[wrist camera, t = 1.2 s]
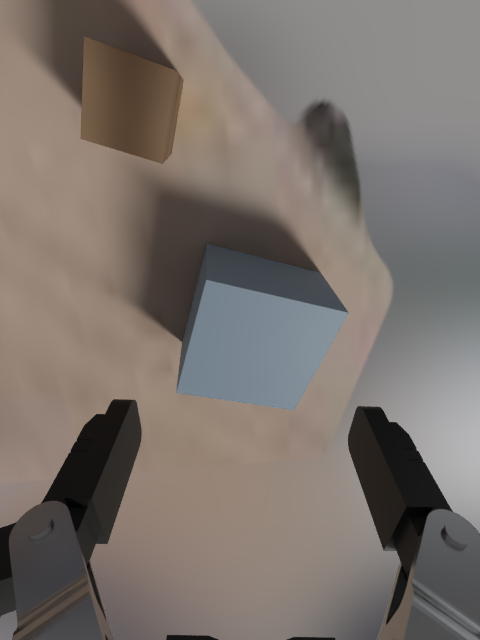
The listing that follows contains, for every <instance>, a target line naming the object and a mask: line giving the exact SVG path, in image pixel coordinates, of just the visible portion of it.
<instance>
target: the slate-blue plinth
mask: <svg viewBox="0 0 480 640" xmlns="http://www.w3.org/2000/svg"><path fill="white" fill-rule="evenodd" d="M347 315H348V311H347V310H346V308H345V307H344V305H343V304H342V303H341V301H340V300H339V298H338V297H337V295H336V294H335V293H334V291H333V290H332V288H331V287H330V285H329V284H328V282H327V281H326V280H325V278H324V277H323V275H322V274H321V273H320V272H316V271H312V270H308V269H304V268H300V267H296V266H292V265H289V264H285V263H281V262H277V261H273V260H269V259H265V258H261V257H258V256H254V255H250V254H246V253H242V252H238V251H234V250H230V249H227V248H223V247H219V246H215V245H211V244H207V245H206V249H205V253H204V257H203V261H202V265H201V269H200V273H199V277H198V281H197V285H196V289H195V293H194V297H193V301H192V305H191V309H190V313H189V317H188V321H187V325H186V329H185V333H184V337H183V341H182V349H181V357H180V366H179V374H178V383H177V391H176V393H180V394H187V395H194V396H201V397H208V398H214V399H221V400H228V401H235V402H242V403H248V404H255V405H262V406H269V407H276V408H283V409H289V410H295V408H296V406H297V404H298V403H299V401H300V399H301V397H302V395H303V394H304V392H305V390H306V388H307V387H308V385H309V383H310V381H311V379H312V378H313V376H314V374H315V372H316V370H317V369H318V367H319V365H320V363H321V361H322V360H323V358H324V356H325V354H326V353H327V351H328V349H329V347H330V345H331V344H332V342H333V340H334V338H335V336H336V335H337V333H338V331H339V329H340V327H341V326H342V324H343V322H344V320H345V319H346V317H347Z"/></svg>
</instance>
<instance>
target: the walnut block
mask: <svg viewBox="0 0 480 640" xmlns="http://www.w3.org/2000/svg"><path fill="white" fill-rule="evenodd" d="M182 87H183V79H182V77H181V76H180V75H179V73H178V72H177V71H176V70H173V69H170V68H168V67H165V66H162V65H160V64H157V63H154V62H152V61H149V60H146V59H144V58H141V57H138V56H136V55H133V54H130V53H128V52H125V51H122V50H120V49H117V48H114V47H112V46H109V45H106V44H104V43H101V42H98V41H96V40H93V39H90V38H88V37H85V36H84V46H83V80H82V113H81V139H83V140H87V141H90V142H93V143H96V144H100V145H103V146H106V147H109V148H113V149H116V150H119V151H123V152H126V153H129V154H132V155H136V156H139V157H142V158H145V159H149V160H152V161H155V162H158V163H162V164H163V163H164V162H165V160H166V159H167V158H168V157H169V156H170V155H171V153H172V147H173V141H174V135H175V129H176V123H177V117H178V111H179V105H180V99H181V93H182Z"/></svg>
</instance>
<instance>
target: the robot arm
mask: <svg viewBox="0 0 480 640" xmlns="http://www.w3.org/2000/svg"><path fill="white" fill-rule="evenodd" d="M140 442H141V424H140V418H139V413H138V407H137V402H136V400H119V399H114V400H113V401H112V402H111V403H110V405H109V407H108V410H107V412H106V414H96V415H95V416H94V417H93V418H92V419H91V420H90V421H89V422H88V423H87V424H85V425H84V427H83V429H82V431H81V432H80V434H79V436H78V438H77V442H75V443H74V445H73V447H72V449H71V453H69V454H68V456H67V458H66V460H65V462H64V464H63V465H62V467H61V469H60V471H59V473H58V475H57V476H56V478H55V480H54V482H53V484H52V486H51V487H50V489H49V491H48V493H47V495H46V496H45V498H44V500H43V501H42V502H41V504H39V505H36V506H35V507H33V508H32V509H30V510H29V511H27V512H26V513H25V514H24V515H23V516H22V517H21V518H20V519H19V520H18V521H17V522H16V523H14V524H11V525H8V526H5V527H2V528H0V616H1V615H4V614H6V613H9V612H12V611H15V610H16V613H17V630H16V631H15V632H14V633H13V638H12V640H114V637H113V634H112V631H111V629H110V626H109V622H108V619H107V616H106V612H105V609H104V605H103V602H102V599H101V595H100V592H99V589H98V586H97V582H96V579H95V575H94V572H93V568H92V565H91V562H90V558H91V555H92V552H93V549H94V547H95V544H107V543H108V540H109V538H110V534H111V531H112V528H113V525H114V522H115V519H116V516H117V513H118V510H119V507H120V504H121V501H122V498H123V495H124V492H125V489H126V486H127V483H128V480H129V477H130V474H131V471H132V468H133V465H134V462H135V459H136V456H137V453H138V450H139V446H140ZM348 446H349V451H350V454H351V457H352V460H353V463H354V466H355V469H356V472H357V475H358V478H359V480H360V483H361V486H362V489H363V492H364V495H365V498H366V501H367V504H368V506H369V509H370V512H371V515H372V518H373V521H374V524H375V527H376V529H377V532H378V535H379V538H380V541H381V544H382V547H383V550H384V551H397V553H398V556H399V558H400V561H401V562H400V564H399V566H398V570H397V573H396V577H395V581H394V584H393V588H392V592H391V595H390V599H389V602H388V606H387V610H386V613H385V617H384V620H383V624H382V627H381V630H380V633H379V636H378V638H377V640H480V534H479V532H478V531H477V530H476V528H475V527H474V526H473V525H472V524H471V523H470V522H469V521H467V520H466V519H465V518H463V517H462V516H460V515H459V514H456V513H454V512H453V511H452V510H451V508H450V506H449V505H448V503H447V501H446V499H445V498H444V496H443V494H442V492H441V491H440V489H439V487H438V485H437V484H436V482H435V480H434V478H433V476H432V475H431V473H430V471H429V469H428V468H427V466H426V464H425V463H424V462H423V459H422V457H421V455H420V453H419V452H418V451H417V450H416V447H415V445H414V443H413V441H412V439H411V438H410V436H409V434H408V433H407V432H406V431H404V429H403V428H401V427H400V426H399V425H398V424H397V423H396V422H389V421H388V419H387V417H386V415H385V413H384V411H383V410H382V409H381V408H380V407H365V406H364V407H363V406H359V407H357V409H356V411H355V415H354V418H353V421H352V425H351V428H350V431H349V435H348ZM166 640H218V639H215V638H213V637H210V636H192V635H191V636H190V635H189V636H187V635H167V639H166ZM287 640H335V638H316V637H293V638H290V639H287Z"/></svg>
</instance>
